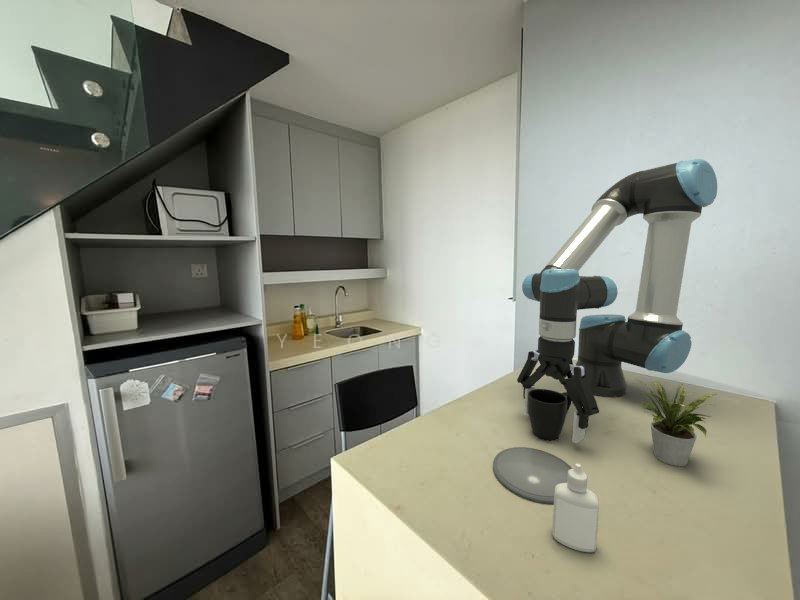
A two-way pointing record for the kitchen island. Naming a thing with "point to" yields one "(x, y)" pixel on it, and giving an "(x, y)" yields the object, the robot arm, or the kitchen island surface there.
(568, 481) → the eye dropper bottle
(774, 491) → the kitchen island surface
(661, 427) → the house plant
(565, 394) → the mug
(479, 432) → the kitchen island surface
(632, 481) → the kitchen island surface
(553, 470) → the round gray plate
